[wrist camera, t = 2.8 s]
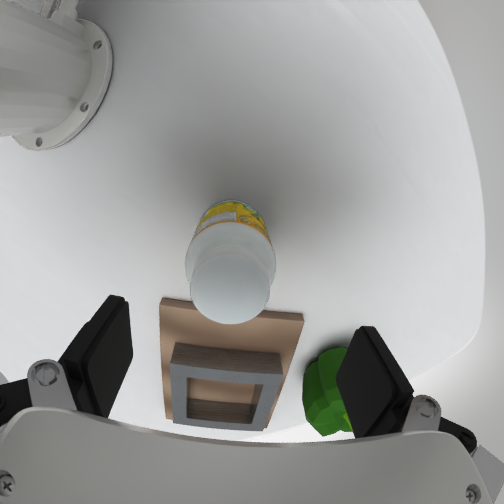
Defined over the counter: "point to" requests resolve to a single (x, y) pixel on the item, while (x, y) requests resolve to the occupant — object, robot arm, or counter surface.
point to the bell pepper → (325, 394)
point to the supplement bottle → (230, 263)
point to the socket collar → (227, 370)
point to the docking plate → (224, 336)
